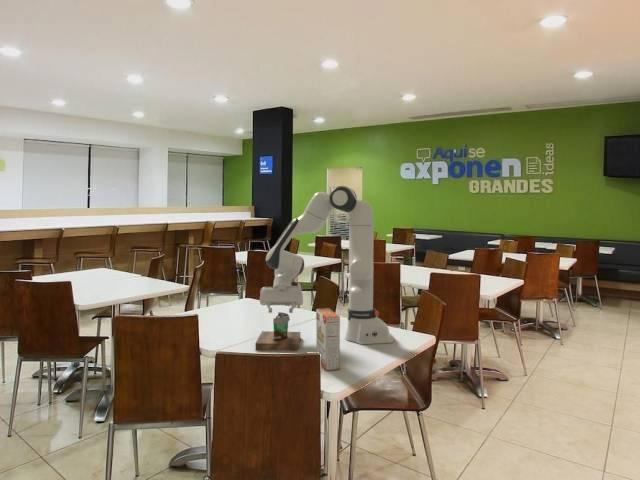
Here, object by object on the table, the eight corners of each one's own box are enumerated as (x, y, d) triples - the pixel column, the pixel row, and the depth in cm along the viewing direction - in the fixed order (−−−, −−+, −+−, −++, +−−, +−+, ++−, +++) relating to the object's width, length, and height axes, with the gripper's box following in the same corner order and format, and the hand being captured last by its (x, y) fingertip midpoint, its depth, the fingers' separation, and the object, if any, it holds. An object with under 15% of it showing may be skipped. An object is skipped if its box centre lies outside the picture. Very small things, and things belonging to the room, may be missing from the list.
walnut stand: (300, 338, 216) (300, 331, 216) (297, 350, 198) (297, 343, 198) (261, 337, 217) (261, 331, 216) (255, 350, 199) (255, 343, 198)
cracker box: (315, 359, 188) (315, 308, 186) (329, 357, 189) (330, 307, 188) (324, 371, 174) (325, 316, 173) (340, 370, 176) (340, 315, 174)
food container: (287, 341, 201) (287, 319, 200) (273, 341, 201) (273, 318, 200) (291, 333, 213) (291, 312, 212) (278, 333, 213) (278, 311, 212)
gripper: (259, 283, 218) (257, 308, 209) (303, 283, 218) (302, 308, 209) (261, 290, 223) (258, 315, 214) (303, 290, 223) (302, 315, 214)
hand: (280, 312), depth 211 cm, fingers open, 8 cm apart
